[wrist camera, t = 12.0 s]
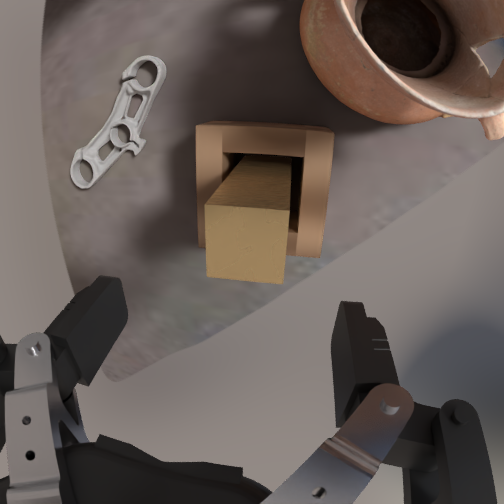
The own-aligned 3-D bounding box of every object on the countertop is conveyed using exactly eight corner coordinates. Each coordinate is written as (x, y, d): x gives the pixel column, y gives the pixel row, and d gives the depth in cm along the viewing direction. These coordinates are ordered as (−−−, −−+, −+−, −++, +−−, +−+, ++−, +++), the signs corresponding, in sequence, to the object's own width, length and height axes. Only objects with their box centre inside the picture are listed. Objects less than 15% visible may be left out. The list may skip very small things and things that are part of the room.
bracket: (49, 145, 27) (147, 47, 22) (60, 141, 29) (156, 49, 24) (84, 199, 30) (191, 112, 24) (94, 193, 31) (198, 110, 26)
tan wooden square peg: (246, 154, 27) (204, 204, 15) (291, 157, 27) (289, 210, 14) (245, 196, 29) (206, 276, 17) (288, 200, 29) (282, 284, 16)
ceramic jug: (484, 87, 20) (588, 95, 8) (377, 164, 26) (445, 218, 13) (366, -60, 16) (404, -142, 3) (246, 10, 21) (202, -65, 8)
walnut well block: (212, 120, 26) (195, 125, 22) (327, 127, 25) (334, 133, 21) (212, 224, 31) (198, 247, 26) (316, 233, 30) (319, 257, 25)
